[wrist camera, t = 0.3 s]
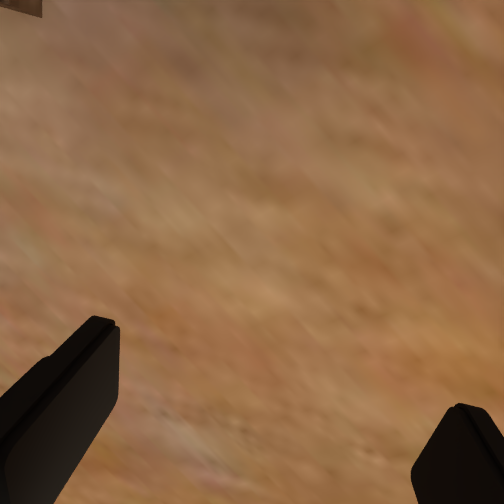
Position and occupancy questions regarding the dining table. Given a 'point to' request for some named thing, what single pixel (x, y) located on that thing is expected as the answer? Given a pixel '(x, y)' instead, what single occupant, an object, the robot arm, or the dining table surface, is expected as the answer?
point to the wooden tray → (24, 6)
